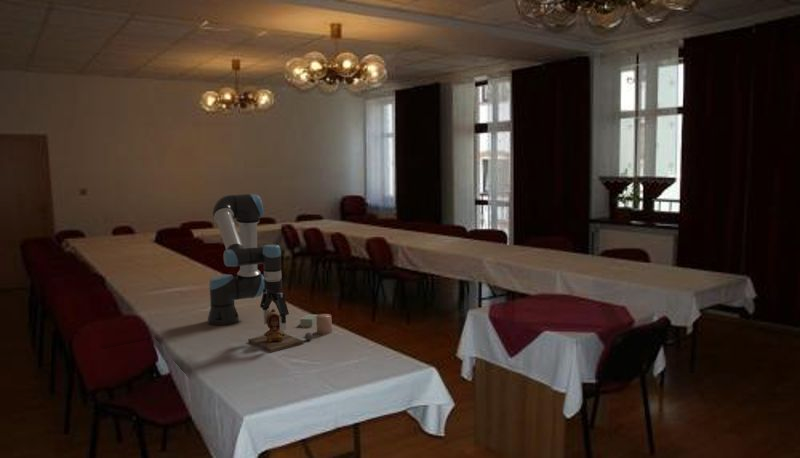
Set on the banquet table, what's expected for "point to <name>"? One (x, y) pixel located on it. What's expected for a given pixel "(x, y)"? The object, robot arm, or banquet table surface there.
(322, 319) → the brown rounded cylinder
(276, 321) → the figurine
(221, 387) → the banquet table surface
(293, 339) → the board
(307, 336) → the ball
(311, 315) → the block
